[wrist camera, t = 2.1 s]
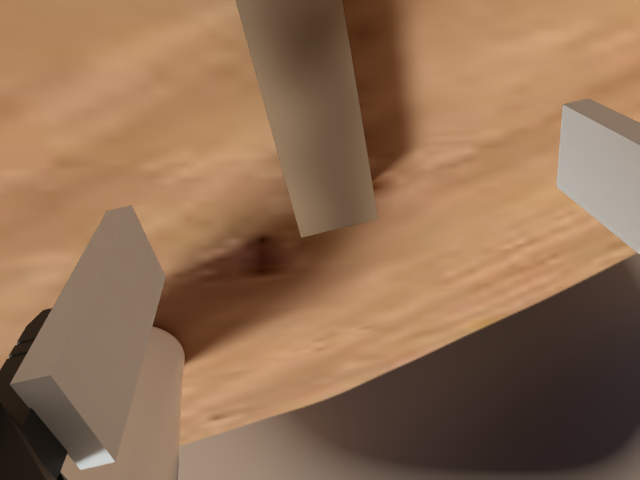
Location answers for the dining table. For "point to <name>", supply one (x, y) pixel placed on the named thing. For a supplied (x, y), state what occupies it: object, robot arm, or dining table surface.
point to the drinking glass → (147, 420)
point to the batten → (312, 109)
